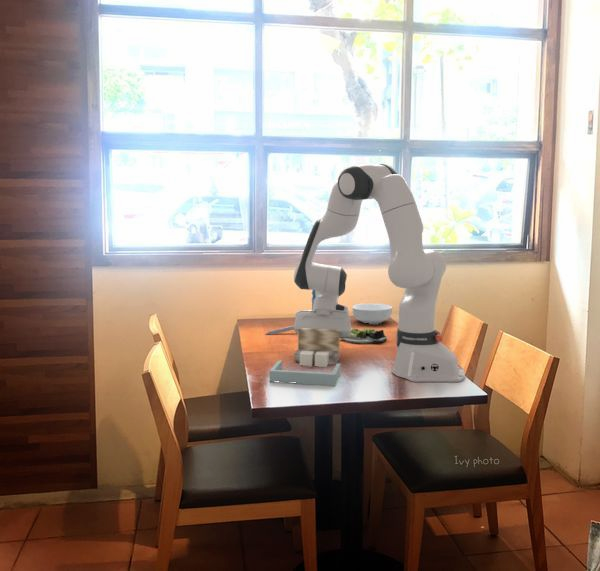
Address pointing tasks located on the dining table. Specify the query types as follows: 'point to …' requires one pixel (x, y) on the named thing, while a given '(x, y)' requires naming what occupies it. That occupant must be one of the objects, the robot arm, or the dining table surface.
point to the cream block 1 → (307, 358)
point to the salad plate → (365, 336)
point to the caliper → (281, 330)
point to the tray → (304, 376)
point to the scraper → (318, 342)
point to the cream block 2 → (322, 359)
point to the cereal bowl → (372, 312)
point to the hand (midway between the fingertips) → (320, 344)
